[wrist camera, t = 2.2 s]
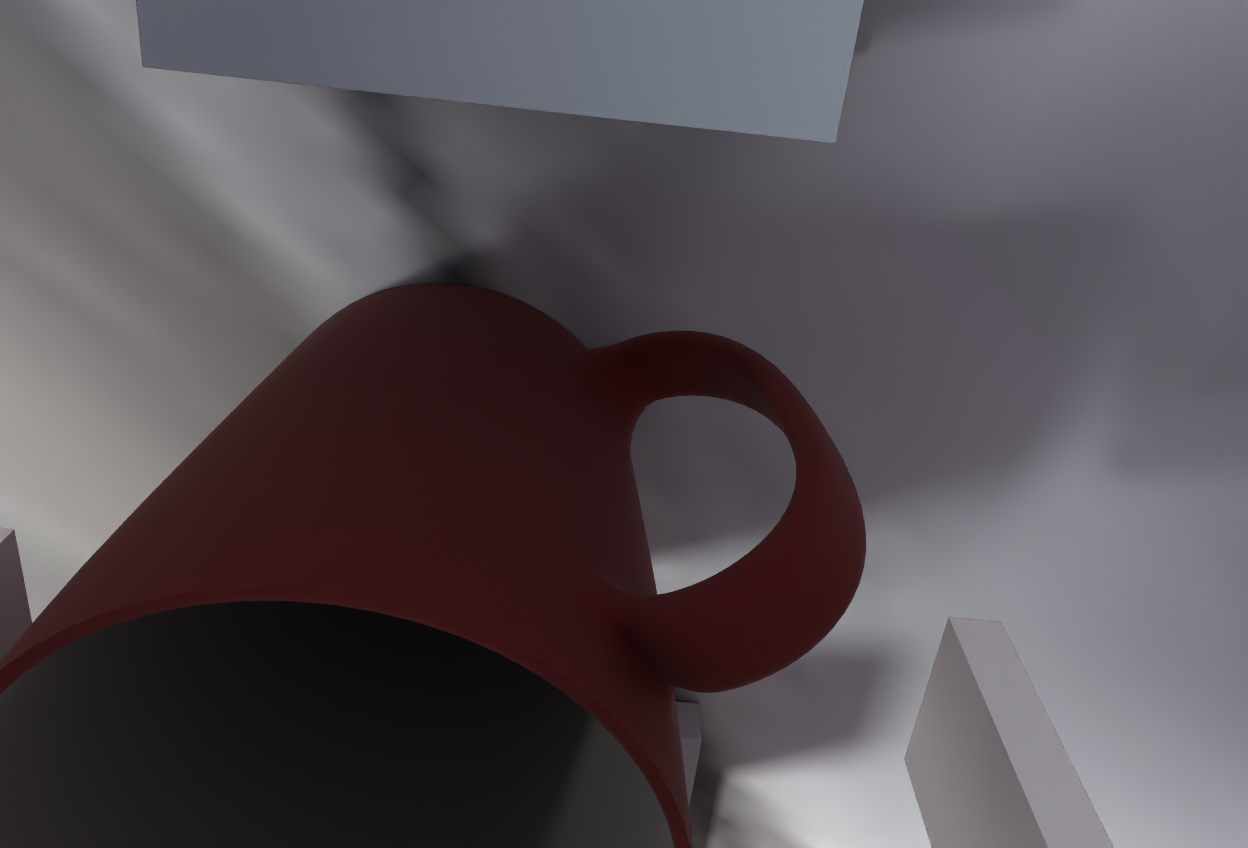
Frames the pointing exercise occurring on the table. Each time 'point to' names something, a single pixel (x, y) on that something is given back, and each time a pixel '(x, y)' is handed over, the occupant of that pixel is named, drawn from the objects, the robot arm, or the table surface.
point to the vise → (541, 68)
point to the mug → (415, 602)
